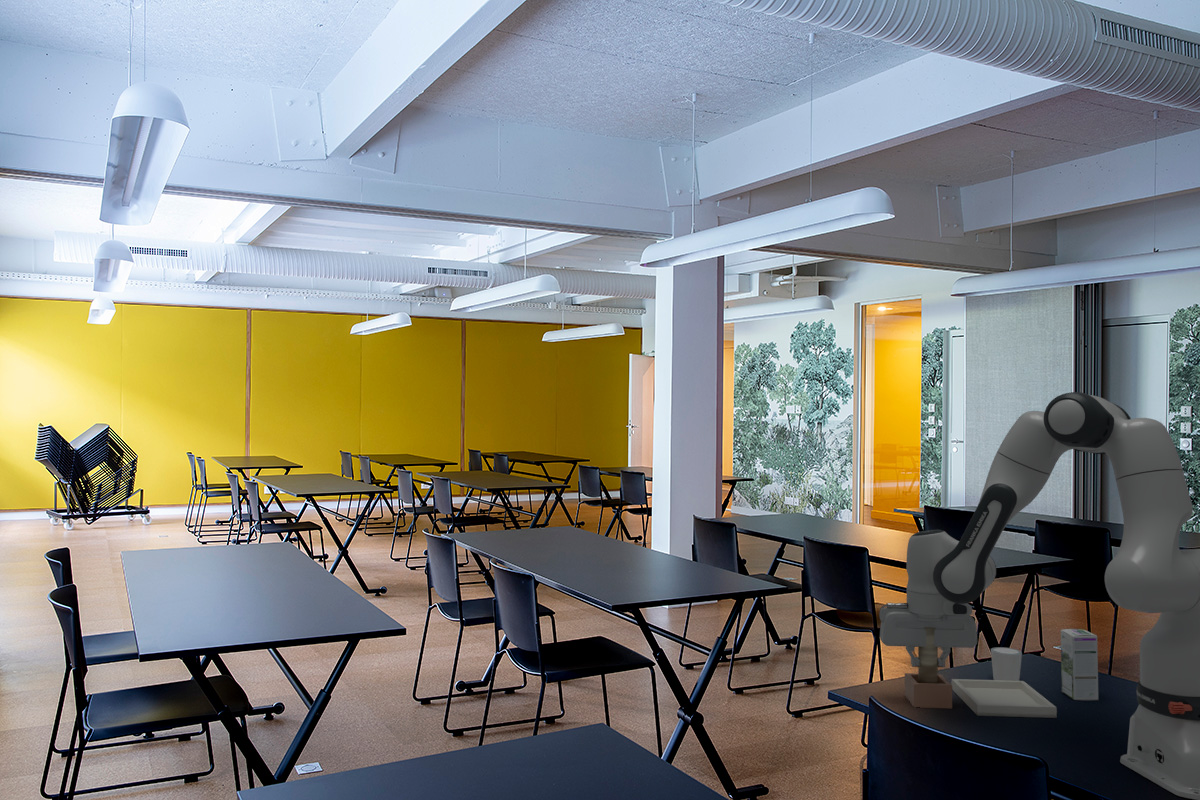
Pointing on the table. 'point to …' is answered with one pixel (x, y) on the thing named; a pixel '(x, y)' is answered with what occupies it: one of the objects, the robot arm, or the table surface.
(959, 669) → the table surface
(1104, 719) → the table surface
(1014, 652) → the grey cup
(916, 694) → the brown square sleeve
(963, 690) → the tray
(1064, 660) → the syrup box
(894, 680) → the table surface
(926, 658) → the olive grey ringed cylinder
